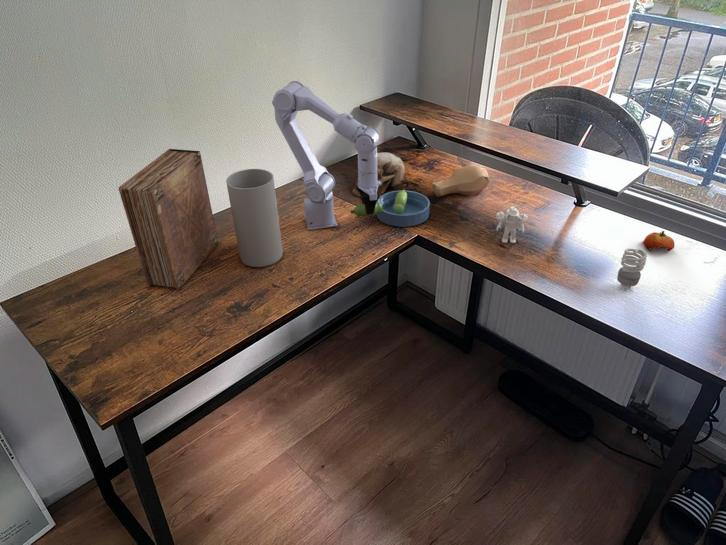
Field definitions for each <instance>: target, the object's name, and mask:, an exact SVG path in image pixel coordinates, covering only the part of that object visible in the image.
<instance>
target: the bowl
mask: <svg viewBox="0 0 726 545" xmlns="http://www.w3.org/2000/svg"><path fill="white" fill-rule="evenodd" d="M399 191H400V190H393V191H388V192H386V193H383V194H382V195H380V198H379V199H378V201H377V203H380V204H381V205H382V207H383V210H382V212H381V213H380V214H376V217H377V219H378V220H379V221H381V222H382V223H384V224H386V225H389V226H392V227H400V228H402V227H403V228H404V227H413V226H418V225H420V224H422V223H424V222H426V221H427V220H428V219H429V217H430V211H431V202H430V201H431V200H430V199H429V198H428V197H427V196H426V195H424V194H422V193H420V192H417V191H413V190H405V192H406V193H407V200H406V204H405V208H404V211H403V212H402V213H396V212H395V211H394V210H393V206H394V202H395V199H396V195H397V193H398V192H399Z"/></svg>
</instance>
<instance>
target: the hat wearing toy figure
mask: <svg viewBox="0 0 726 545" xmlns="http://www.w3.org/2000/svg"><path fill="white" fill-rule="evenodd" d="M523 207H524V204H520V205H516V207H515V206H511V207H509V208H508V209H507V210H506V214H505V212H504V211H502V210H501V211H498V212H497V213H496V215H495V216H496V217H495V219H497V220H498V224H497V225H496V228H495V229H496V231H497V232H499V229H500V230H502V225H503V224H504V225H505V227H504V230H503V235H502V238H501V242H502V244H507V243H508V240H509V242H510V244H516V242H517V240H516V234H517V225H518V226H519V229H518V232H520V231H521V234H524V233H525V226H524V224H525V223H527V222H528V214H527V213H520V211H519V210H520V209H522V208H523ZM509 233H510V237H509Z"/></svg>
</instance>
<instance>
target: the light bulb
mask: <svg viewBox="0 0 726 545" xmlns="http://www.w3.org/2000/svg"><path fill="white" fill-rule="evenodd" d="M647 258H648V254H647V252H646V251H645V250H643V249H641V248H625V250H624V253H623V254H622V257H621V261H620V265H621V266H622V267H620V268H619V269H618V271H617V277H616V280H617V282H618V283H619V284H620V287H621V288H622V289H624V290H629V289H631V288H632V287H634V286H635V287H636V286H637V285H638V284H639V282H640V279H641V276H642V273H641V272H642V271H643V270H644V268H645V266H646V262H647Z"/></svg>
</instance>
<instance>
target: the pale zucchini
mask: <svg viewBox="0 0 726 545" xmlns="http://www.w3.org/2000/svg"><path fill="white" fill-rule="evenodd" d="M398 191H399V192H398V193H397V195H396V199H395V202H394V206H393V210H394V211H395V212H396V213H402V212H403V211H404V208H405V204H406V200H407V193H406V192H405V191H406V189H405V188H402V190H398Z"/></svg>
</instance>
